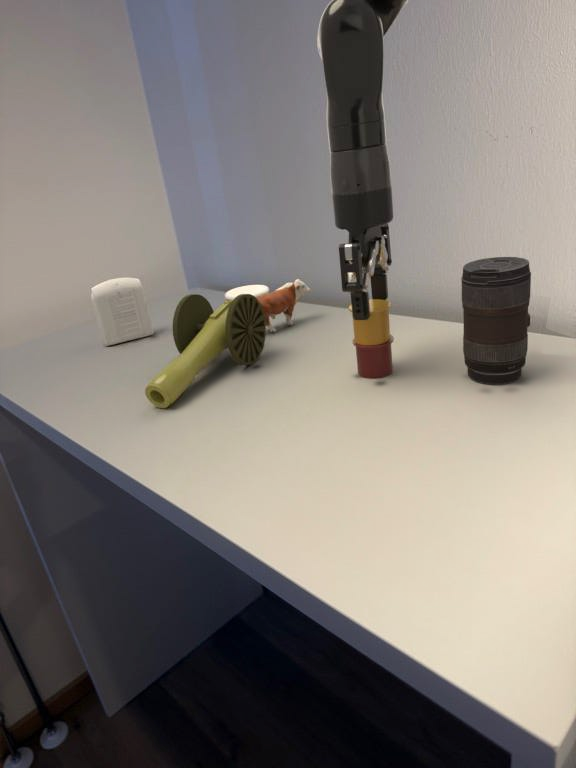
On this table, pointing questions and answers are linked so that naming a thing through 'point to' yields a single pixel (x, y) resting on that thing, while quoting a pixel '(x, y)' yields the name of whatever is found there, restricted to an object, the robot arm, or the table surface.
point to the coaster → (247, 291)
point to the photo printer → (121, 310)
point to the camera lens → (496, 318)
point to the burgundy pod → (374, 359)
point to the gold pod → (373, 324)
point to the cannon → (208, 341)
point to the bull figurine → (282, 301)
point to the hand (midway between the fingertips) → (371, 309)
